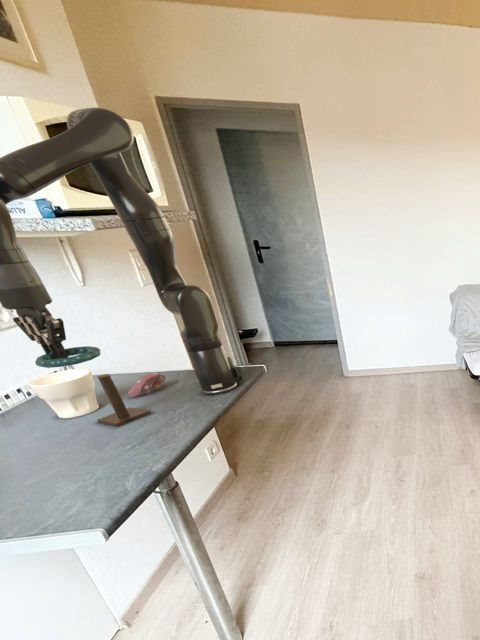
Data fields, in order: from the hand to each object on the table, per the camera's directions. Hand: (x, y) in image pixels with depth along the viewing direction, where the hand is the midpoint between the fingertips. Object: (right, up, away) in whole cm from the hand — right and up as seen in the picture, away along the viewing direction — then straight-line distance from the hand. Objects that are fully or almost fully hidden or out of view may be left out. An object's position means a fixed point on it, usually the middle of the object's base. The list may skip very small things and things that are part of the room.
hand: (59, 358), depth 98 cm
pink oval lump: (-10, -8, +35) cm, 37 cm away
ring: (+4, 0, -2) cm, 4 cm away
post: (-2, -15, +18) cm, 24 cm away
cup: (-20, -14, +22) cm, 33 cm away
